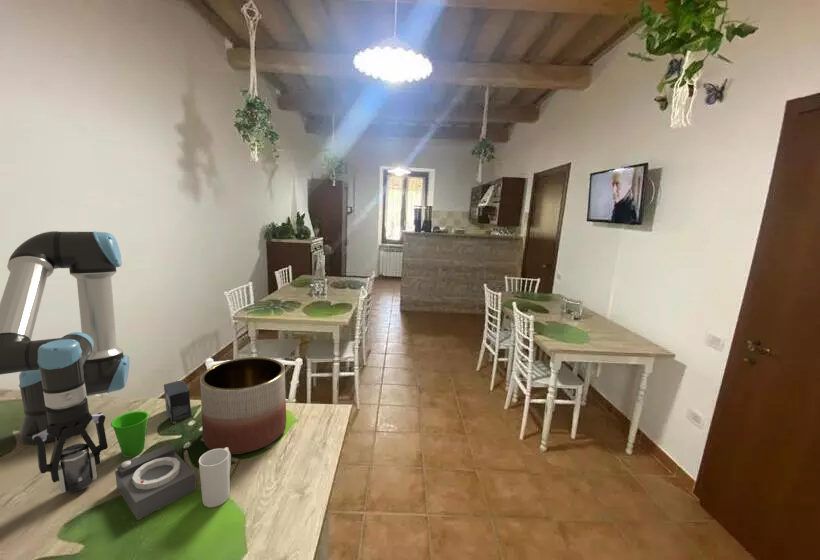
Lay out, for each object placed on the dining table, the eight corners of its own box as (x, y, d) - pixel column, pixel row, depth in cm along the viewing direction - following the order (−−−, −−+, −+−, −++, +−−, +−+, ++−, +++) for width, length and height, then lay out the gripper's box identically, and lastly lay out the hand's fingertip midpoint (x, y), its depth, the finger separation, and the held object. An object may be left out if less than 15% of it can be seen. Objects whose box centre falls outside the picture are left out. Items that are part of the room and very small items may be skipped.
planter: (286, 408, 137) (285, 354, 134) (286, 450, 114) (285, 385, 110) (211, 417, 129) (208, 359, 125) (194, 464, 106) (189, 395, 102)
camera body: (117, 488, 96) (114, 463, 94) (172, 463, 106) (170, 440, 105) (137, 520, 86) (134, 494, 85) (196, 489, 96) (194, 465, 95)
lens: (61, 484, 94) (56, 450, 92) (89, 473, 98) (85, 440, 96) (66, 496, 91) (61, 461, 89) (95, 483, 95) (91, 449, 93)
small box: (164, 410, 133) (162, 383, 131) (185, 404, 137) (183, 379, 135) (170, 423, 125) (168, 395, 123) (192, 416, 129) (190, 389, 128)
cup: (132, 464, 105) (128, 429, 103) (106, 458, 107) (102, 424, 105) (159, 445, 114) (156, 413, 112) (135, 440, 115) (131, 408, 113)
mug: (220, 510, 90) (218, 467, 88) (195, 507, 91) (192, 464, 89) (242, 481, 100) (241, 442, 98) (219, 478, 101) (217, 439, 99)
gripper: (14, 424, 80) (30, 513, 85) (117, 393, 95) (126, 470, 99) (10, 411, 85) (25, 496, 89) (109, 384, 99) (118, 458, 104)
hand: (78, 482), depth 94 cm, fingers closed on lens, 5 cm apart
